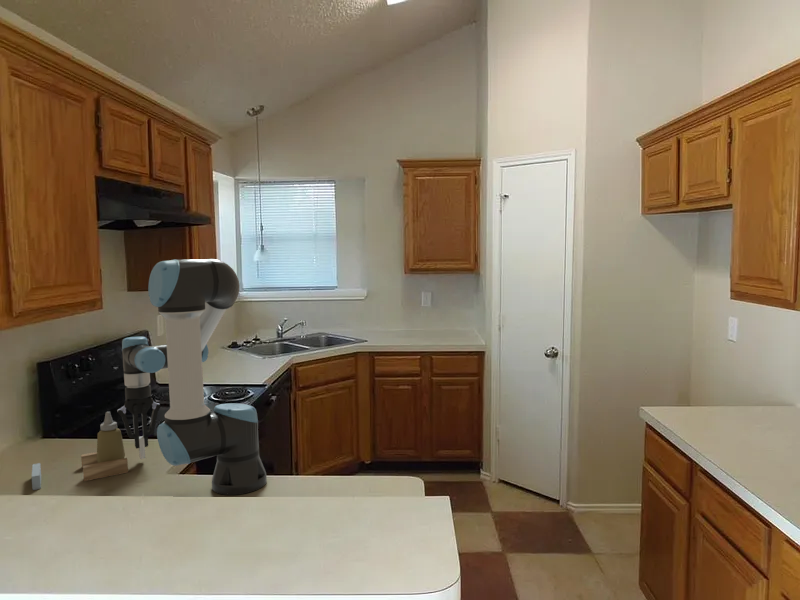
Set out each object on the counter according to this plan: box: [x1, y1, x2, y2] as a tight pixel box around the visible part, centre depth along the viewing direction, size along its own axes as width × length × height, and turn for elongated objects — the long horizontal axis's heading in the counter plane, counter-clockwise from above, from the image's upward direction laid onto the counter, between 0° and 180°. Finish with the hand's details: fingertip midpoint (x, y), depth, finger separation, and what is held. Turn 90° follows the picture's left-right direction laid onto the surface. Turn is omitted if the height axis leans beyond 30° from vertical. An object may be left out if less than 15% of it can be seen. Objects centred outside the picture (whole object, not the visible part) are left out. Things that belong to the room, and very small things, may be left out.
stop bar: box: [31, 462, 42, 491], centre depth 173 cm, size 12×2×4 cm, turn 31°
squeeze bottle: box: [96, 411, 126, 463], centre depth 183 cm, size 8×8×18 cm
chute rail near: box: [82, 457, 129, 482], centre depth 177 cm, size 2×12×4 cm, turn 121°
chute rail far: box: [80, 451, 98, 470], centre depth 187 cm, size 2×12×4 cm, turn 121°
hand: (142, 457), depth 188 cm, fingers closed
